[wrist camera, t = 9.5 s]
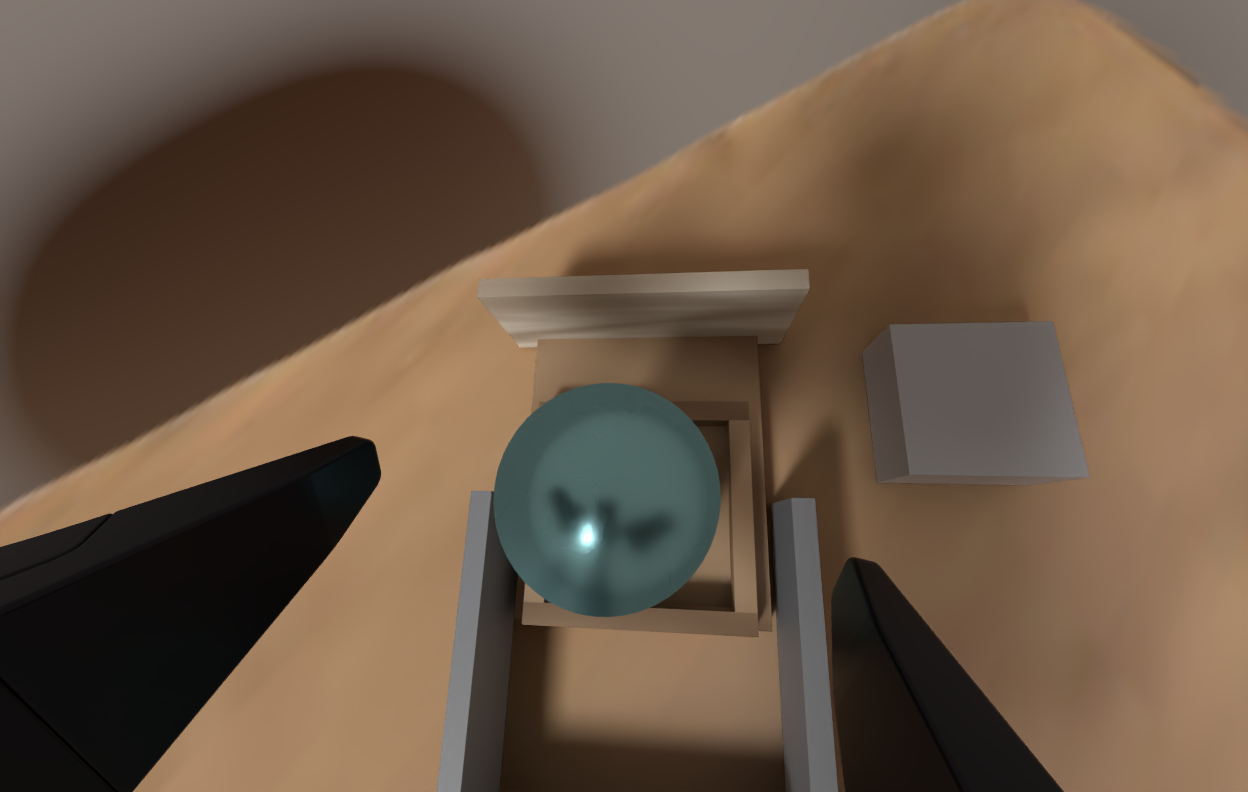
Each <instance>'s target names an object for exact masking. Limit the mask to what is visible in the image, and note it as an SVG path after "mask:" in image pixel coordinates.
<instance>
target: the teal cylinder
mask: <svg viewBox="0 0 1248 792" xmlns="http://www.w3.org/2000/svg"><path fill="white" fill-rule="evenodd" d="M720 505H721V493H720V481H719V475H718V470H717V467H716V463H715V460H714V457H713V454H712V452H711V450H710V448H709V445H708V443H707V441H706V440H705V438H704V436H703V435H702V433H701V432H700V430H699V429H698V427H697V426H696V425H695V424H694V423H693V421H692V420H691V419H690V418H689V417H688V416H687V415H686V414H685V413H684V412H683V411H682V410H681V409H680V408H678V407H677V406H676V405H674V404H673V403H672V402H670V401H669V400H667V399H665V398H664V397H662V396H660V395H658V394H656V393H654V392H651V391H649V390H646V389H644V388H640V387H636V386H632V385H628V384H619V383H599V384H592V385H586V386H582V387H578V388H575V389H572V390H569V391H567V392H565V393H562V394H560V395H558V396H556V397H555V398H553V399H551V400H549V401H548V402H546V403H545V404H544V405H542V406H541V407H539V408H538V409H537V410H536V411H535V412H534V413H532V414H531V415H530V416H529V417H528V418H527V419H526V420H525V421H524V423H523V424H522V425H521V426H520V427H519V429H518V430H517V431H516V433H515V434H514V436H513V437H512V439H511V441H510V442H509V444H508V446H507V448H506V450H505V452H504V454H503V457H502V459H501V462H500V465H499V468H498V472H497V477H496V481H495V488H494V516H495V523H496V529H497V532H498V536H499V539H500V543H501V545H502V547H503V549H504V552H505V554H506V556H507V558H508V560H509V561H510V563H511V565H512V566H513V568H514V570H515V571H516V572H517V573H518V575H519V576H520V577H521V578H522V580H523V581H524V582H525V583H526V584H527V585H528V586H529V587H530V588H531V589H532V590H534V591H535V592H536V593H537V594H539V595H540V596H541V597H543V598H544V599H546V600H547V601H549V602H550V603H552V604H554V605H556V606H558V607H560V608H562V609H565V610H568V611H571V612H574V613H577V614H582V615H587V616H593V617H615V616H624V615H628V614H632V613H636V612H640V611H643V610H645V609H647V608H650V607H652V606H655V605H656V604H658V603H660V602H662V601H663V600H665V599H667V598H668V597H670V596H671V595H672V594H674V593H675V592H676V591H677V590H679V589H680V588H681V587H682V586H683V585H684V584H685V583H686V582H687V581H688V580H689V579H690V578H691V577H692V576H693V574H694V573H695V572H696V570H697V569H698V568H699V566H700V565H701V563H702V562H703V560H704V558H705V556H706V555H707V553H708V551H709V549H710V547H711V544H712V541H713V539H714V536H715V533H716V529H717V525H718V521H719V515H720Z"/></svg>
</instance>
